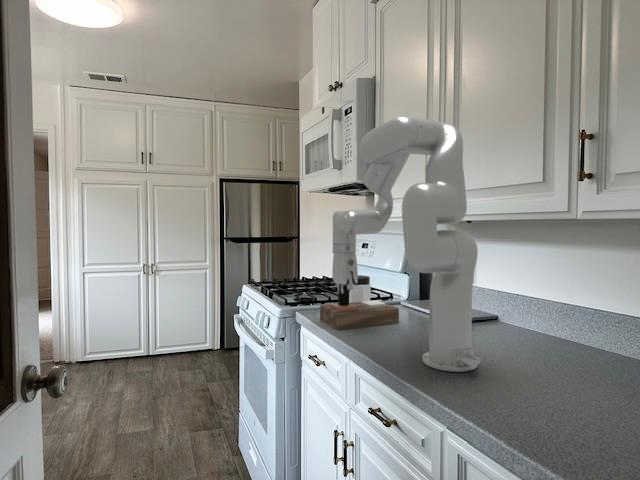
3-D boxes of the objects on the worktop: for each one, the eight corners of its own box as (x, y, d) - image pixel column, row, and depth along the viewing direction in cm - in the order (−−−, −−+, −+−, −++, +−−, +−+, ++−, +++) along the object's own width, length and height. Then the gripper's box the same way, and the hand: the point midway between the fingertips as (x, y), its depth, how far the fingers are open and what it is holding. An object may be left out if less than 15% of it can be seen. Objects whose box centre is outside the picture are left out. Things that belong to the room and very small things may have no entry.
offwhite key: (385, 314, 142) (385, 303, 142) (370, 316, 140) (370, 305, 139) (376, 310, 147) (376, 300, 147) (361, 312, 145) (361, 301, 145)
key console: (398, 323, 139) (398, 308, 139) (337, 330, 131) (337, 314, 131) (377, 314, 152) (377, 300, 152) (320, 319, 144) (320, 305, 143)
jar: (358, 304, 169) (358, 274, 168) (374, 307, 163) (374, 276, 163) (342, 308, 163) (342, 276, 162) (359, 311, 157) (359, 279, 156)
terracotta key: (356, 317, 138) (356, 306, 137) (339, 318, 135) (339, 307, 135) (348, 313, 143) (348, 302, 143) (331, 314, 141) (331, 304, 141)
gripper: (365, 250, 133) (364, 308, 134) (344, 247, 146) (344, 299, 148) (343, 251, 130) (343, 310, 131) (324, 247, 144) (324, 301, 145)
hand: (343, 304), depth 139 cm, fingers closed
